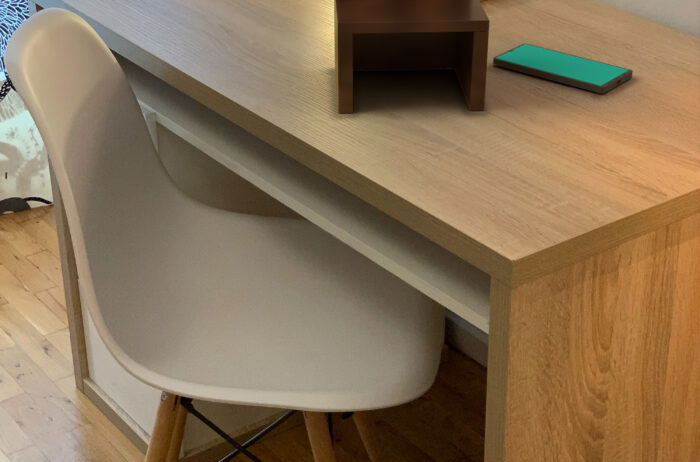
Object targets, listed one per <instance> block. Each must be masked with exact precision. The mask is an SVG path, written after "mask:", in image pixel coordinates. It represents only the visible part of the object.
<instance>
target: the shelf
mask: <svg viewBox="0 0 700 462" xmlns="http://www.w3.org/2000/svg"><path fill="white" fill-rule="evenodd" d="M482 4H483V3H482V2H481V1H480V0H333V23H334V25H333V26H334V27H333V28H334V29H333V30H334V31H333V32H334V35H333V36H334V41H333V42H334V73H335V74H334V75H335V86H336V98H337V99H336V100H337V101H336V102H337V112H338V114H353V113H354V72H369V71H370V72H372V71H373V72H375V71H376V72H377V71H379V72H381V71H418V70H419V71H423V70H424V71H425V70H426V71H427V70H428V71H431V70H432V71H433V70H435V71H436V70H455V73H456V76H457V79H458V81H459V84H460V87H461V90H462V93H463V96H464V98H465V101H466V104H467V106H468V107H467V108H468V110H469V111H470V112H473V111H474V112H475V111H477V112H478V111H485V104H486V89H487V87H486V85H487V72H488V71H487V70H488V54H489V53H488V52H489V37H490V23H491V22H490V19H489V17H488V15H487V13H486V10H485V8H484V7H483V5H482Z"/></svg>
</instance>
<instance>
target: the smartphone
mask: <svg viewBox="0 0 700 462" xmlns="http://www.w3.org/2000/svg"><path fill="white" fill-rule="evenodd" d="M492 59H493V60H492V65H494V66H498V67H501V68H505V69H508V70H512V71H517V72H519V73H524V74H527V75H532V76H535V77H539V78H542V79H546V80H549V81H554V82H557V83H559V84H560V83H562V84H564V85H567V86H572V87H577V88H580V89H583V90H586V91H590V92H595V93H598V94H605V93H607V92H609V91H610V90H612V89H614V88H615V87H617V86H619V85H620V84H623V83H624V82H626V81H628V80H629V79H631V78H632V77H633V69H630V68H626V67H622V66H618V65H614V64H611V63H606V62H602V61H597V60H593V59H590V58H586V57H582V56H578V55H574V54H571V53H565V52H561V51H557V50H554V49H550V48H545V47H542V46H537V45H533V44H531V43H530V44H529V43H522V44H520V45H518V46H516V47H513V48H511V49H509V50H507V51H505V52H502V53H500V54H498V55H496V56H493V58H492Z"/></svg>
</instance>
